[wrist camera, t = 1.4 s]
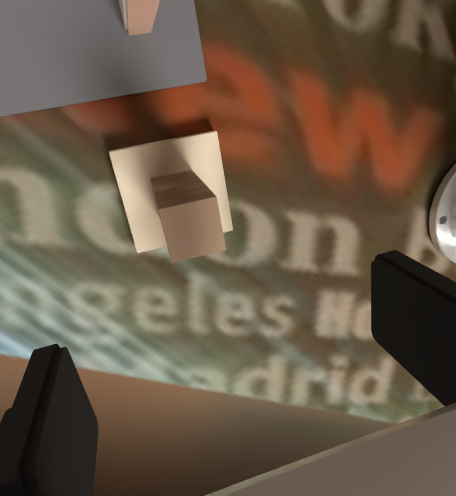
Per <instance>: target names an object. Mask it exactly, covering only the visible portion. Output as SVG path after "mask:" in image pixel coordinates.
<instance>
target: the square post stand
mask: <svg viewBox="0 0 456 496" xmlns="http://www.w3.org/2000/svg"><path fill="white" fill-rule="evenodd" d="M109 154H110V158H111V161H112V165H113V168H114V172H115V176H116V179H117V183H118V186H119V190H120V193H121V197H122V200H123V204H124V207H125V211H126V214H127V218H128V222H129V225H130V229H131V232H132V236H133V239H134V243H135V246H136V250H137V253H140V252H144V251H148V250H152V249H157V248H161V247H165V246H167V247H168V251H169V255H170V259H171V263H175V262H179V261H183V260H187V259H191V258H195V257H199V256H203V255H207V254H211V253H215V252H219V251H223V250H226V246H225V241H224V235H223V233H224V232H228V231H232V230H233V227H232V221H231V215H230V209H229V203H228V196H227V190H226V184H225V178H224V172H223V166H222V160H221V154H220V148H219V141H218V135H217V131H209V132H204V133H199V134H193V135H188V136H183V137H178V138H172V139H167V140H162V141H157V142H152V143H146V144H141V145H136V146H131V147H125V148H120V149H115V150H110V151H109Z"/></svg>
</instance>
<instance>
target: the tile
mask: <svg viewBox="0 0 456 496" xmlns="http://www.w3.org/2000/svg"><path fill="white" fill-rule="evenodd" d="M118 1H119V5H120V9H121V14H122V18H123V22H124V26H125V30H127V31H128V35H129V36H131V35H138V34H145V33H151V31H152V27H153V24H154V20H155V16H156V13H157V9H158V6H159V2H160V0H118Z"/></svg>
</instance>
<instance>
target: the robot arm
mask: <svg viewBox="0 0 456 496" xmlns="http://www.w3.org/2000/svg"><path fill="white" fill-rule="evenodd" d="M429 229H430V235H431V239H432V242H433V244H434V246H435V248H436V249H437V251H438V252H439V253H440V254H441V255H442V256H443V257H445V258H447V259H449V260H450V261H452V262H455V263H456V163H455V164H454V166H453V167H452V168H451V169H450V170H449V172H448V173H447V174H446V175H445V177H444V179H443V180H442V182H441V184H440V185H439V187H438V189H437V192H436V194H435V196H434V199H433V202H432V206H431V210H430V218H429ZM371 331H372V335H373V337H374V339H375V340H376V342H377V343H378V344H379V345H381V346H382V347H383V348H384V349H385V350H386V351H387V352H388V353H389V354H390V355H391V356H392V357H393V358H394V359H395V360H396V361H397V362H399V363H400V364H401V365H402V366H403V367H404V368H405V369H406V370H407V371H408V372H409V373H410V374H411V375H412V376H413V377H414V378H415V379H417V380H418V381H419V382H420V383H421V384H422V385H423V386H424V387H425V388H426V389H427V390H428V391H429V392H430V393H431V394H432V395H433V396H435V397H436V398H437V399H438V400H439V401H440V402H441V403H442V404H443V405H444V406H445V407H443V408H440V409H438V410H435V411H432V412H429V413H427V414H424V415H421V416H418V417H416V418H413V419H410V420H407V421H405V422H402V423H399V424H396V425H394V426H391V427H388V428H385V429H383V430H380V431H377V432H375V433H372V434H369V435H366V436H364V437H361V438H358V439H356V440H353V441H350V442H348V443H345V444H342V445H339V446H337V447H334V448H332V449H329V450H326V451H323V452H321V453H318V454H315V455H313V456H310V457H307V458H304V459H302V460H299V461H296V462H294V463H291V464H288V465H286V466H283V467H280V468H277V469H275V470H272V471H270V472H267V473H264V474H262V475H259V476H256V477H254V478H251V479H248V480H246V481H243V482H240V483H238V484H235V485H232V486H230V487H227V488H224V489H222V490H219V491H216V492H214V493H211V494H209V495H206V496H456V282H454V281H452V280H451V279H449V278H447V277H445V276H443V275H441V274H439V273H438V272H436V271H434V270H432V269H430V268H428V267H426V266H425V265H423V264H421V263H419V262H417V261H415V260H413V259H412V258H410V257H408V256H406V255H404V254H402V253H400V252H399V251H396V250H393V251H389V252H386V253H382V254H378V255H377V256H376V257H375V260H374V261H372V263H371ZM97 441H98V423H97V418H96V416H95V413H94V411H93V409H92V406H91V404H90V401H89V399H88V397H87V394H86V392H85V389H84V387H83V384H82V382H81V380H80V377H79V375H78V372H77V370H76V368H75V365H74V363H73V360H72V358H71V355H70V353H69V351H68V349H67V348H66V347H62V348H60V347H59V345H58V344H53V345H50V346H46V347H43V348H39V349H35V350H34V351H33V352H32V355H31V358H30V360H29V363H28V366H27V369H26V371H25V374H24V376H23V379H22V382H21V384H20V387H19V390H18V393H17V395H16V398H15V401H14V403H13V406H12V408H9V409H8V410H7V411H6V412H5V414H4V416H3V418H2V420H1V423H0V496H93V489H94V477H95V465H96V453H97Z"/></svg>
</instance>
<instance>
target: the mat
mask: <svg viewBox="0 0 456 496" xmlns="http://www.w3.org/2000/svg"><path fill="white" fill-rule="evenodd" d="M206 81H207V77H206V71H205V65H204V59H203V53H202V47H201V41H200V35H199V29H198V23H197V17H196V11H195V5H194V0H160V2H159V6H158V9H157V13H156V16H155V20H154V24H153V27H152V31H151V33H145V34H138V35H131V36H129V35H128V31H127V30H125V26H124V22H123V18H122V14H121V9H120V5H119V1H118V0H0V117H1V116H7V115H12V114H18V113H24V112H30V111H36V110H42V109H48V108H54V107H59V106H65V105H71V104H77V103H83V102H89V101H95V100H101V99H106V98H112V97H118V96H124V95H130V94H136V93H142V92H148V91H154V90H159V89H165V88H171V87H177V86H183V85H189V84H195V83H201V82H206Z"/></svg>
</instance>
